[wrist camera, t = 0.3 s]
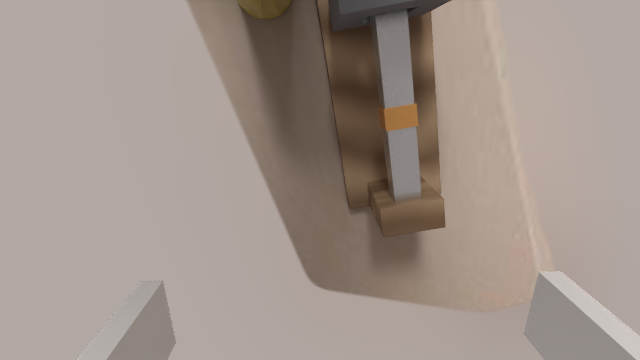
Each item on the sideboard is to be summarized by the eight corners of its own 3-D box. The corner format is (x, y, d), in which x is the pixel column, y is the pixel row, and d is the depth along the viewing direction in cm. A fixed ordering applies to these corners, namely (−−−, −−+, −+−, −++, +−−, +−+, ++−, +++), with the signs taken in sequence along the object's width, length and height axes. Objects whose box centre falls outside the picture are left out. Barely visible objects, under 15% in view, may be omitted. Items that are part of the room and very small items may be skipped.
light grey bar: (360, -51, 27) (365, -65, 24) (394, -57, 27) (403, -72, 24) (387, 191, 34) (393, 202, 31) (414, 187, 34) (423, 197, 31)
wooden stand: (309, -47, 31) (307, -93, 23) (422, -70, 31) (463, -125, 22) (348, 204, 40) (357, 241, 31) (437, 190, 39) (471, 223, 31)
